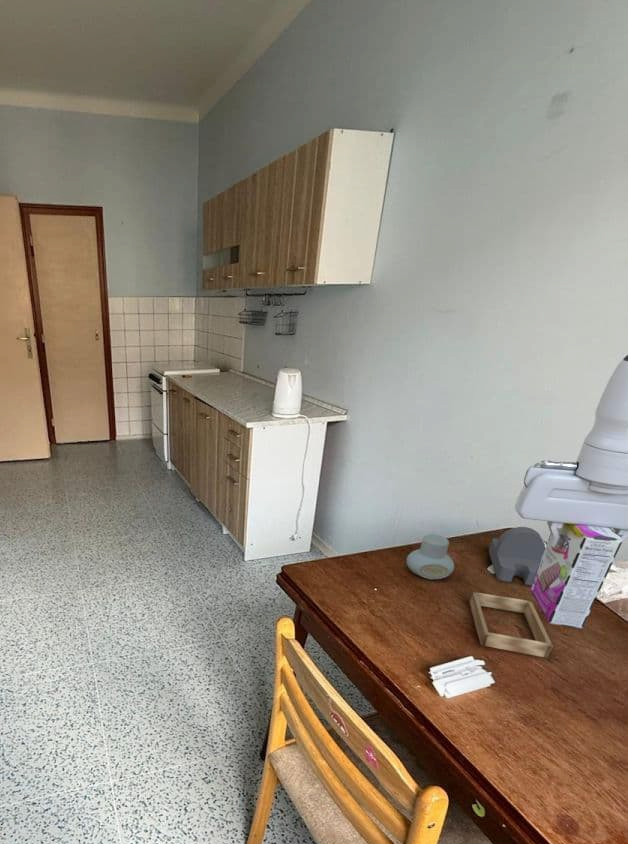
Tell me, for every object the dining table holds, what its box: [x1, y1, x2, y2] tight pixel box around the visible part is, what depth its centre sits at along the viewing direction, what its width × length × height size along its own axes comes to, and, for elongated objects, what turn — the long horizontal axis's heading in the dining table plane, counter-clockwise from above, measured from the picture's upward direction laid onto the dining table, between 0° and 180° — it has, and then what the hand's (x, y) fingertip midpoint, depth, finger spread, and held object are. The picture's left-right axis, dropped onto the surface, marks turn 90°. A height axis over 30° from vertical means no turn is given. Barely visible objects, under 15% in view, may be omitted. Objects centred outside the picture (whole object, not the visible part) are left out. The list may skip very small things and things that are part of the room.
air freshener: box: [406, 534, 455, 581], centre depth 120 cm, size 11×8×10 cm
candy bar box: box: [529, 523, 624, 629], centre depth 77 cm, size 11×5×16 cm, turn 161°
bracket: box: [488, 526, 546, 586], centre depth 122 cm, size 10×18×11 cm, turn 156°
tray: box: [468, 591, 554, 659], centre depth 101 cm, size 12×17×3 cm
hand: (578, 548), depth 76 cm, fingers closed on candy bar box, 5 cm apart
